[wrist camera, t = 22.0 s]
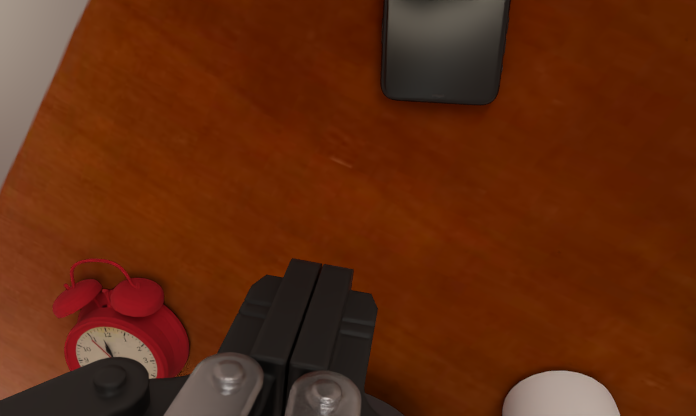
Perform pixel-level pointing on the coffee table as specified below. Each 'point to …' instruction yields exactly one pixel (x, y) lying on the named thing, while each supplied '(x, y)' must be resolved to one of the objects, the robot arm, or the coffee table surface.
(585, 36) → the coffee table surface
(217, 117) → the coffee table surface
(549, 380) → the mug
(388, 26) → the smartphone
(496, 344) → the coffee table surface
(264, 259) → the coffee table surface
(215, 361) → the robot arm
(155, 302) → the alarm clock
